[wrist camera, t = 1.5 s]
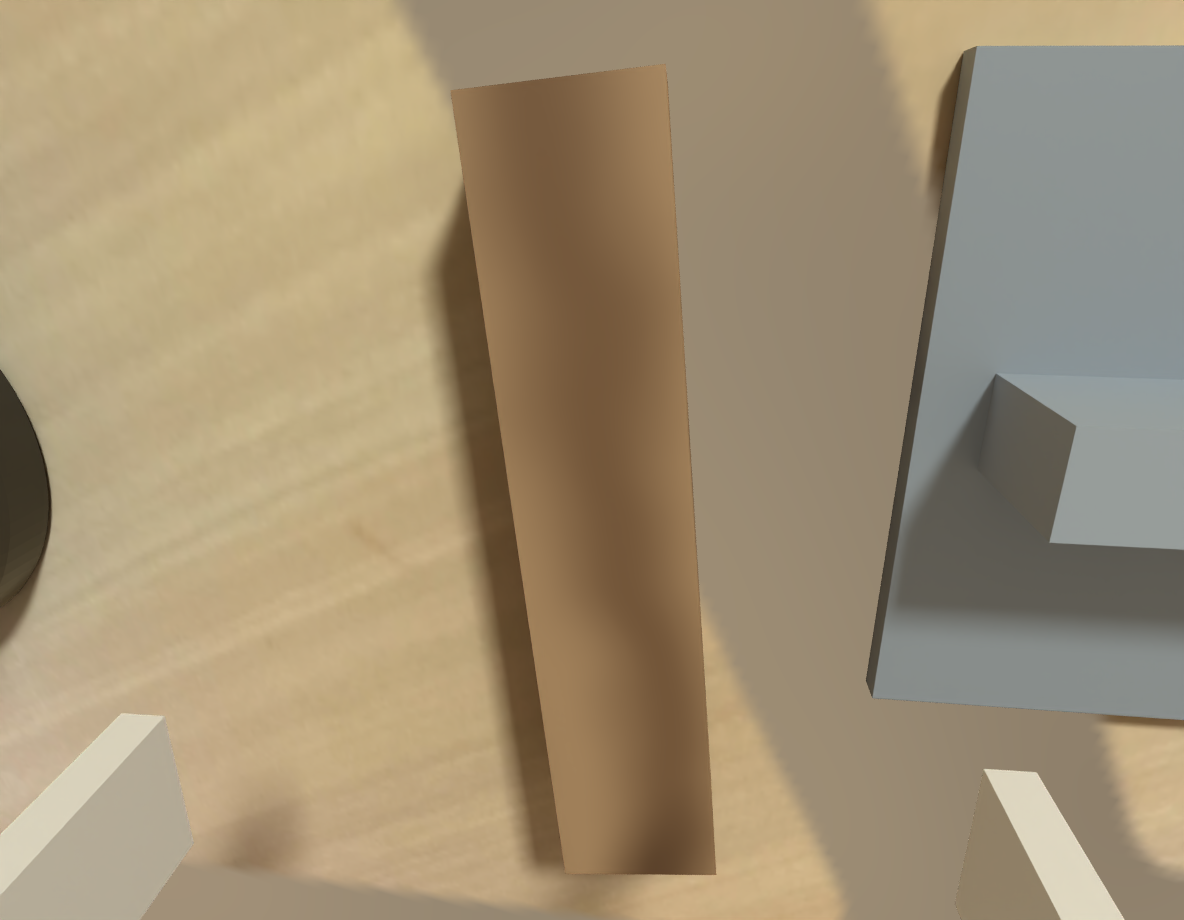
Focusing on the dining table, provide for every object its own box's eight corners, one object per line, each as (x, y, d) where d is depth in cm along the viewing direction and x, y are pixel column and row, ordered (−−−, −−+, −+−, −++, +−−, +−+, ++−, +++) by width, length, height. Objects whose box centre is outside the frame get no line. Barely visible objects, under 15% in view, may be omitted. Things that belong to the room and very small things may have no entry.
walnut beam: (581, 768, 31) (565, 874, 27) (496, 105, 23) (450, 90, 19) (710, 766, 31) (715, 874, 26) (667, 84, 23) (665, 64, 18)
